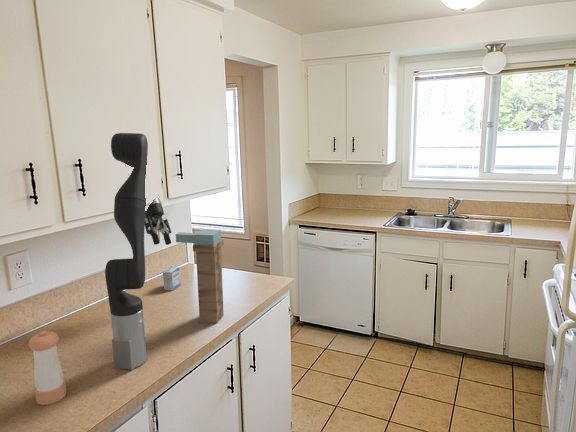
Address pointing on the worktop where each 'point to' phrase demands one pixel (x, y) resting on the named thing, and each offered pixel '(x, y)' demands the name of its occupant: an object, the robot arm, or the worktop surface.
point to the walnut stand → (209, 282)
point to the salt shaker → (47, 368)
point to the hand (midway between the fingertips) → (163, 244)
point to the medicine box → (171, 278)
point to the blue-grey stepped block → (200, 237)
